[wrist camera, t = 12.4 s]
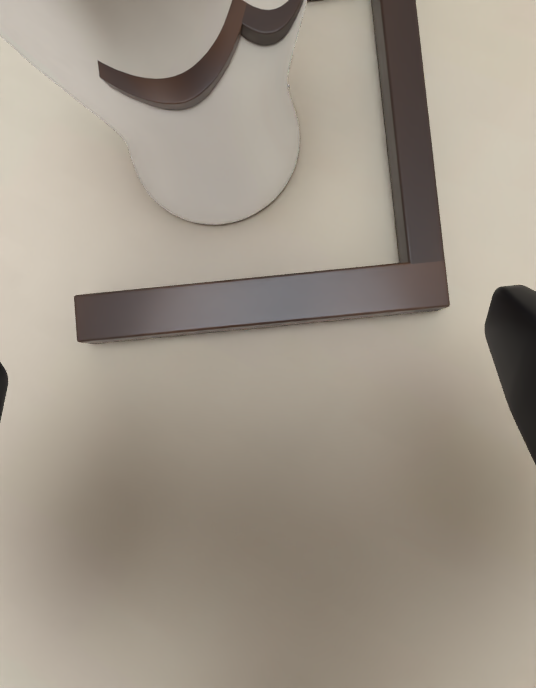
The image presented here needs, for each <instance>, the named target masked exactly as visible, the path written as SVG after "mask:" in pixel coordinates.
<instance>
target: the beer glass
mask: <svg viewBox="0 0 536 688" xmlns="http://www.w3.org/2000/svg"><path fill="white" fill-rule="evenodd" d="M306 4H307V0H0V37H1V38H3V39H4V40H5V41H6V42H7V43H8V44H9V45H10V46H11V47H13V48H14V49H15V50H16V51H17V52H18V53H19V54H20V55H21V56H23V57H24V58H25V59H26V60H27V61H28V62H29V63H30V64H32V65H33V66H34V67H35V68H37V69H38V70H39V71H40V72H42V73H43V74H44V75H45V76H47V77H48V78H49V79H50V80H52V81H53V82H54V83H55V84H57V85H58V86H59V87H60V88H62V89H63V90H64V91H65V92H67V93H68V94H69V95H70V96H72V97H73V98H74V99H75V100H77V101H78V102H79V103H80V104H82V105H83V106H84V107H86V108H87V109H88V110H89V111H91V112H92V113H93V114H95V115H96V116H97V117H98V118H100V119H101V120H102V121H104V122H105V123H106V124H107V125H108V126H109V127H111V128H112V129H113V130H114V131H115V132H117V133H118V134H119V135H120V137H121V138H122V139H123V140H124V141H125V143H126V144H127V147H128V151H129V154H130V157H131V160H132V163H133V166H134V169H135V172H136V174H137V176H138V178H139V180H140V182H141V184H142V185H143V187H144V188H145V190H146V191H147V193H148V194H149V195H150V197H151V198H152V199H153V200H154V201H155V202H156V203H157V204H158V205H160V206H161V207H162V208H164V209H165V210H166V211H168V212H170V213H171V214H173V215H175V216H177V217H179V218H182V219H184V220H187V221H190V222H194V223H199V224H208V225H219V224H227V223H232V222H236V221H240V220H243V219H245V218H248V217H250V216H252V215H254V214H256V213H257V212H259V211H261V210H262V209H264V208H265V207H266V206H268V205H269V204H270V203H271V202H272V201H273V200H274V199H275V198H276V197H277V196H278V195H279V194H280V193H281V191H282V190H283V189H284V187H285V186H286V184H287V182H288V181H289V179H290V177H291V175H292V173H293V171H294V168H295V166H296V162H297V159H298V154H299V148H300V129H299V122H298V118H297V114H296V110H295V107H294V104H293V101H292V99H291V96H290V93H289V89H288V87H289V86H290V85H288V73H289V69H290V64H291V60H292V56H293V52H294V48H295V45H296V41H297V37H298V34H299V30H300V27H301V23H302V19H303V15H304V11H305V8H306Z"/></svg>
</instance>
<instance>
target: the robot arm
mask: <svg viewBox="0 0 536 688" xmlns="http://www.w3.org/2000/svg"><path fill="white" fill-rule="evenodd" d="M485 336H486V340H487V343H488V346H489V349H490V352H491V355H492V358H493V361H494V364H495V367H496V370H497V373H498V376H499V379H500V382H501V385H502V388H503V391H504V394H505V397H506V400H507V403H508V406H509V408H510V411H511V413H512V415H513V418H514V420H515V422H516V424H517V426H518V429H519V431H520V433H521V435H522V437H523V439H524V441H525V443H526V445H527V448H528V450H529V452H530V454H531V456H532V458H533V460H534V462H535V464H536V291H534V290H532V289H530V288H528V287H526V286H523V285H513V286H503V287H499V288H497V289H496V290H495V292H494V294H493V296H492V300H491V304H490V307H489V311H488V315H487V318H486V322H485ZM7 386H8V376H7V373H6V370H5V369H4V367H3V365H2V364H1V362H0V421H1V416H2V411H3V406H4V401H5V396H6V391H7Z"/></svg>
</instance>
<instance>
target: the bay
mask: <svg viewBox="0 0 536 688" xmlns="http://www.w3.org/2000/svg"><path fill="white" fill-rule="evenodd" d="M307 1H309V0H307ZM372 8H373V17H374V26H375V36H376V45H377V54H378V64H379V73H380V82H381V92H382V101H383V110H384V120H385V129H386V138H387V148H388V157H389V166H390V176H391V185H392V194H393V204H394V213H395V222H396V232H397V241H398V250H399V260H400V263H395V264H385V265H375V266H365V267H355V268H345V269H335V270H324V271H314V272H304V273H294V274H284V275H274V276H264V277H254V278H244V279H234V280H224V281H214V282H204V283H194V284H184V285H174V286H163V287H153V288H143V289H133V290H123V291H113V292H103V293H93V294H83V295H76V296H74V303H75V316H76V330H77V341H78V342H81V343H90V344H95V343H105V342H116V341H126V340H137V339H147V338H158V337H168V336H178V335H189V334H199V333H210V332H220V331H231V330H241V329H251V328H262V327H272V326H283V325H293V324H304V323H314V322H325V321H335V320H345V319H356V318H366V317H377V316H387V315H398V314H408V313H418V312H429V311H438V310H441V309H443V308H446V307H448V306H449V305H450V302H449V293H448V285H447V276H446V267H445V259H444V250H443V241H442V232H441V223H440V214H439V205H438V196H437V187H436V178H435V169H434V160H433V152H432V143H431V134H430V125H429V116H428V107H427V98H426V89H425V80H424V71H423V62H422V53H421V44H420V35H419V26H418V17H417V9H416V0H372Z"/></svg>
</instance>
